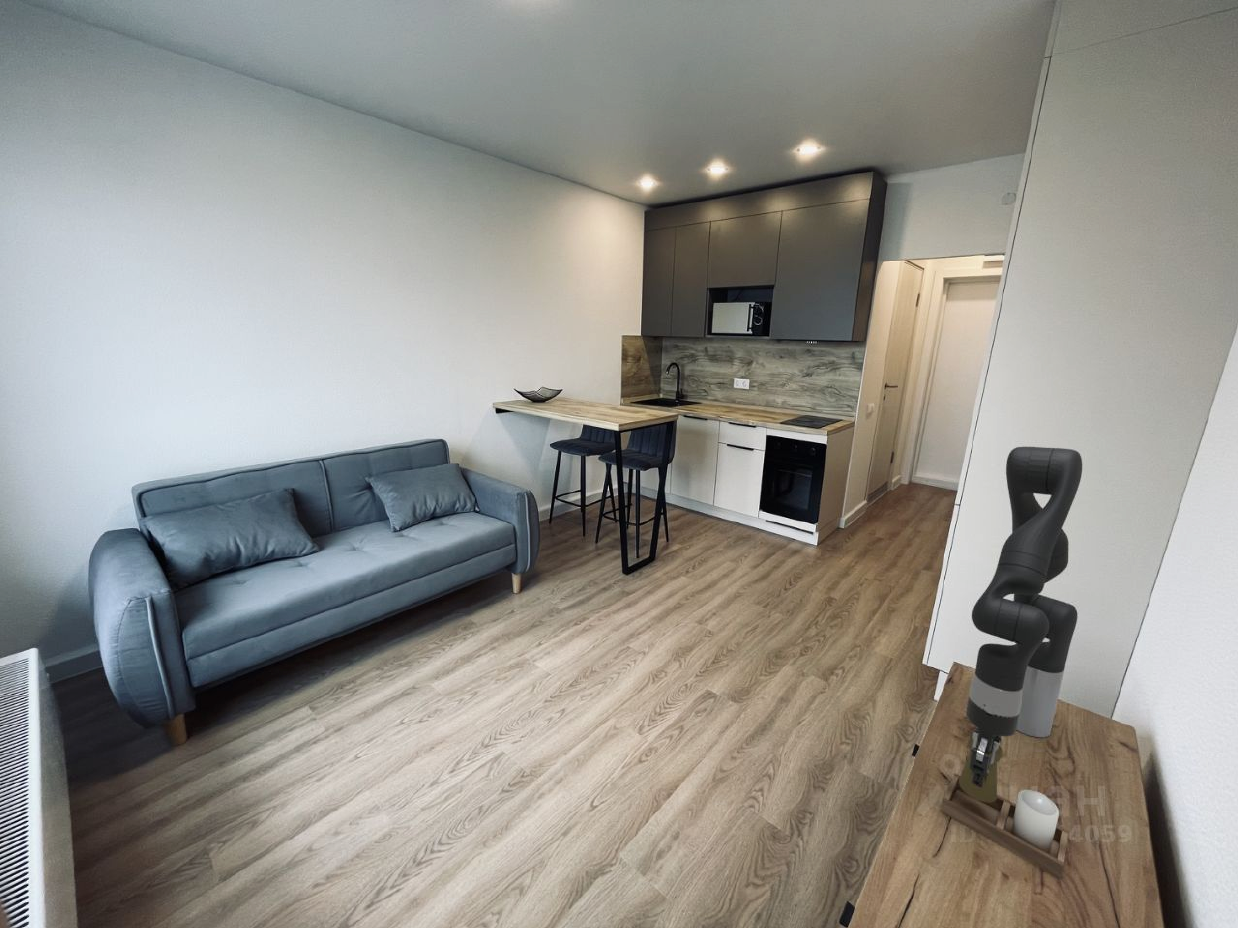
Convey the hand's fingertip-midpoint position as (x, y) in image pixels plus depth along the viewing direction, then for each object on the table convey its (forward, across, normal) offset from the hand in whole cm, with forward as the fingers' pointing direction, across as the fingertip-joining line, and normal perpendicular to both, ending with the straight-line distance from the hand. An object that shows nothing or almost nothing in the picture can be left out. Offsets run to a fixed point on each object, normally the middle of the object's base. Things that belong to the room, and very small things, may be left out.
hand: (979, 778), depth 94 cm
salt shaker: (+8, 0, +9) cm, 11 cm away
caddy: (+8, 0, +4) cm, 9 cm away
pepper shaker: (+2, 0, 0) cm, 2 cm away
